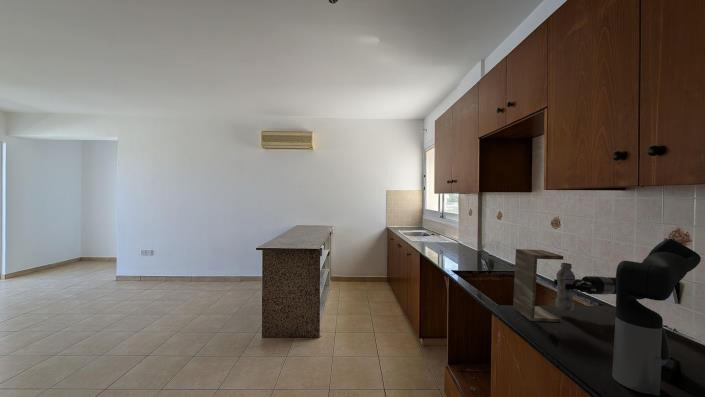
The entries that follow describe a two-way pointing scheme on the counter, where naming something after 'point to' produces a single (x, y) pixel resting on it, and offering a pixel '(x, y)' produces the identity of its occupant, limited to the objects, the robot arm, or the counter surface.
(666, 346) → the pump dispenser
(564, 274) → the plastic bottle
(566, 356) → the counter surface
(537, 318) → the cubby shelf
